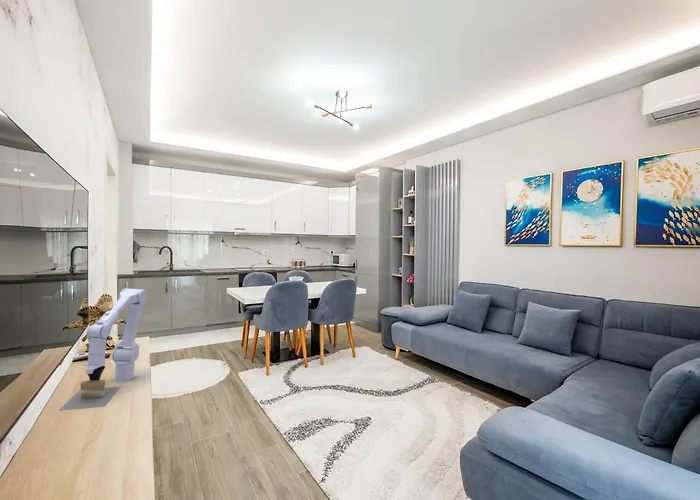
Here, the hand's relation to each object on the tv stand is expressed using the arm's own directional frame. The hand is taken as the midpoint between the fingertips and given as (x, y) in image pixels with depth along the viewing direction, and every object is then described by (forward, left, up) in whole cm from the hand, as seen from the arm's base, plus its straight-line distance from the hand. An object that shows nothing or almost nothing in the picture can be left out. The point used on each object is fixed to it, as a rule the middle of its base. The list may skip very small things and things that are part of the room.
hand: (94, 385), depth 138 cm
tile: (0, 0, -4) cm, 4 cm away
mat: (+1, 0, -5) cm, 5 cm away
